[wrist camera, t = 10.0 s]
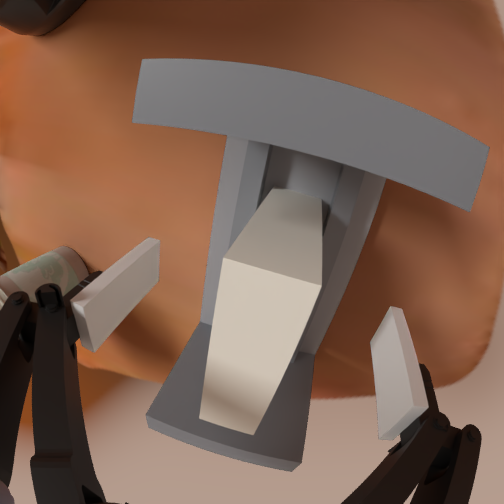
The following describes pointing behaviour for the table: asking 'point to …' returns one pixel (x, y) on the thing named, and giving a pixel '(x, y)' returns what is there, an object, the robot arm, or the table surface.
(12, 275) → the coffee cup
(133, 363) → the table surface
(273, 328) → the block
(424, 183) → the track
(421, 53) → the table surface
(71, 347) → the robot arm
